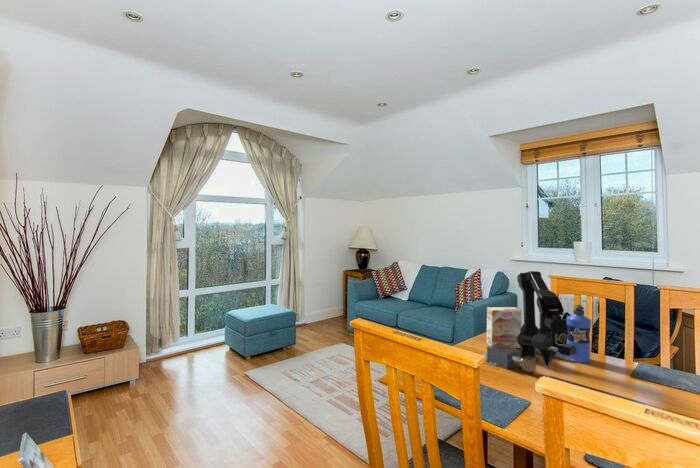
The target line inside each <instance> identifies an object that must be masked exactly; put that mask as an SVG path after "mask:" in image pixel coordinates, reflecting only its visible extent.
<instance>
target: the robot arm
mask: <svg viewBox="0 0 700 468" xmlns="http://www.w3.org/2000/svg"><path fill="white" fill-rule="evenodd" d="M516 277H517V278H516V280H517V283H518V287H519V288H520V289H521V291H522V299H523V300H522V301H523V305H522V306H523V308H522V309H523V324H522V325H521V329H520V334H519V336H518V338H517V342H518V344H519V345H520V346H521V349H520V352H521V353H520V358H523V357H526V356H529V355H530V356H533V357H536V361H538V360H539V359H540V358H539V357H537V356H536V354H537V352H536V351H537V350H538V351H539V352H540V354H541V357H542V358H543V361H544V364H545V366H547V367H549V366H550V365H551V363H552V361H553V359H554V358H555V356H556V354H557V353H559V354H560V355H564V356H566V357H567V356H571V355H573V354H576V348H575V346H573V345H570V344H567V342H566V343H563V344H558V343H559V339H557V335H563V334H564V333H566V331H568V328H567V321H565V320H563V318H562V316H564V312H565V310H564V307H563V304H562V301H561V300H560V298H559V297H558V295H557V294H556V293H555V292H553V291H551V290H550V289H549V288H548V286H547V284H546V282H545V281H544V279H543V277H542V273H541V271H538V270H535V271H533V270H530V271H527V272H520V273H519V274H518V275H517V276H516ZM535 294H536V295H537V298H536V304H535ZM535 305H537V309H538V312H539V327H538V326H537V325H536V309H535V307H536V306H535Z"/></svg>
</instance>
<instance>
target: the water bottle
mask: <svg viewBox="0 0 700 468" xmlns="http://www.w3.org/2000/svg"><path fill="white" fill-rule="evenodd" d="M573 308H574V309H573V312H572V313H573V314H571V315H567V316H566V324H567V338H566V344H570V345H573V346H575V348H576V354H573V355H571V356H567V355H566V358H567V357H568V358H571V359H574V360H576V361H577V362H578V363H577V362H576V363H577V364H589V363H588V362H590V363H591V339H590V338H591V337H590V332H591V328H592V319H591V318H589V317H587V316H585V310H584V307H583V306H582V305H580V304H576V305H575V306H574V307H573Z"/></svg>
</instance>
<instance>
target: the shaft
mask: <svg viewBox="0 0 700 468" xmlns="http://www.w3.org/2000/svg"><path fill="white" fill-rule="evenodd" d="M536 357H537V356H536ZM536 357H533V356H530V355H529V356H526V357H523V358H520V357H517V356H514V355H511V360H512V361H515V362H517V363H520V364H519V365H522V366H521V369H522V370H523V371H525V372H528V373H531V372H534V371H535V370H537V360H536Z"/></svg>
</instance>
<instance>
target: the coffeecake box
mask: <svg viewBox="0 0 700 468" xmlns="http://www.w3.org/2000/svg"><path fill="white" fill-rule="evenodd" d="M521 327H522V309H519V308H518V307H516V306H514V307H513V306H504V307H503V306H497V307H496V306H495V307H492V306H487V307H486V345H487V347H489V346H492V345H495V344H499V343H500V344H503V345H506V346H509V347H513V348H518V347H521V348H522V346H520V345H519V344H518V342H517V338H518V336H519V334H520V329H521Z"/></svg>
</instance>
